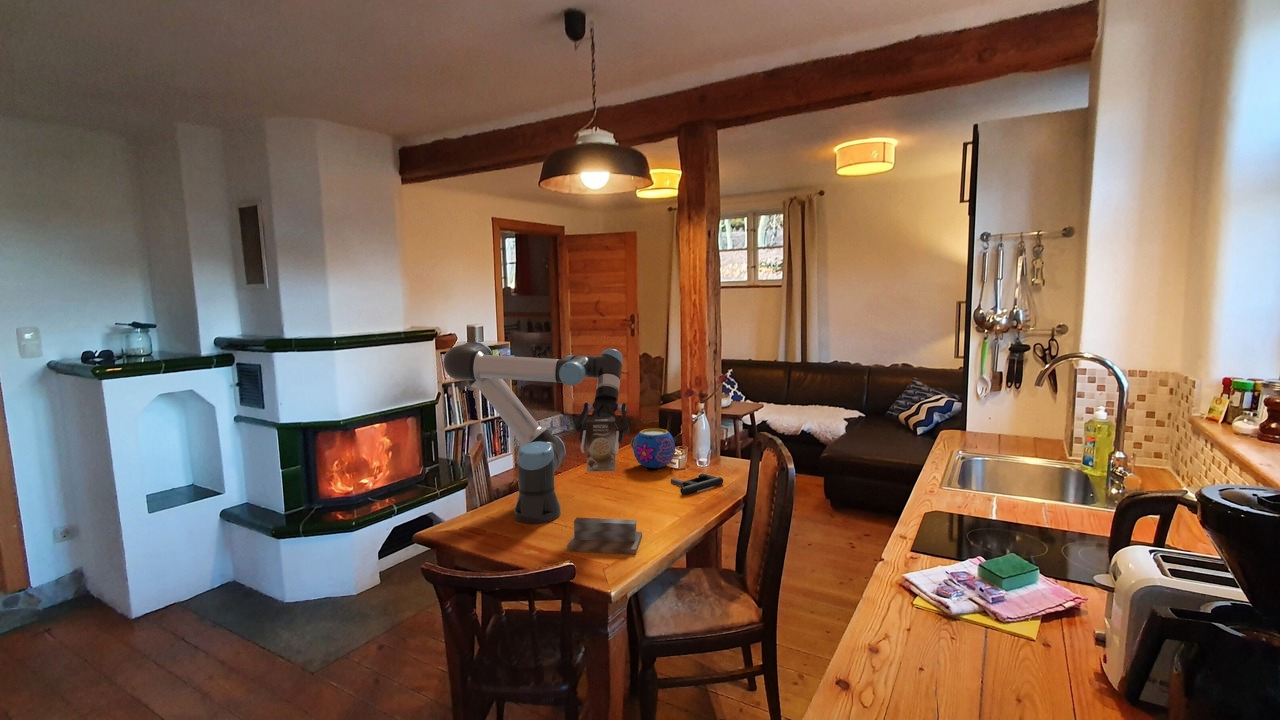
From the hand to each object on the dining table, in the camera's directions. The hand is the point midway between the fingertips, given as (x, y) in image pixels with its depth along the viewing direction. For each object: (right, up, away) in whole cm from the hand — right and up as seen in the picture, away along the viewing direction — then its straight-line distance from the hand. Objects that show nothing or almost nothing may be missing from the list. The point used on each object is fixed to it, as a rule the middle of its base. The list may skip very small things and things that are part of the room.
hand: (599, 451), depth 185 cm
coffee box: (0, -6, +4) cm, 7 cm away
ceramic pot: (+19, -16, +64) cm, 69 cm away
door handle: (+32, -20, +41) cm, 56 cm away
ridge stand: (+2, -26, -8) cm, 27 cm away
